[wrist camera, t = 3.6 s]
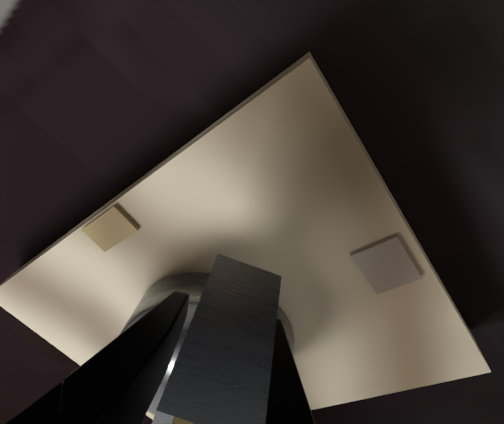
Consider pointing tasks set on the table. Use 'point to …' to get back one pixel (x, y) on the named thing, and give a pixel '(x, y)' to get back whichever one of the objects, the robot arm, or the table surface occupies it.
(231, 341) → the silver dome with handle
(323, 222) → the base plate
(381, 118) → the table surface
